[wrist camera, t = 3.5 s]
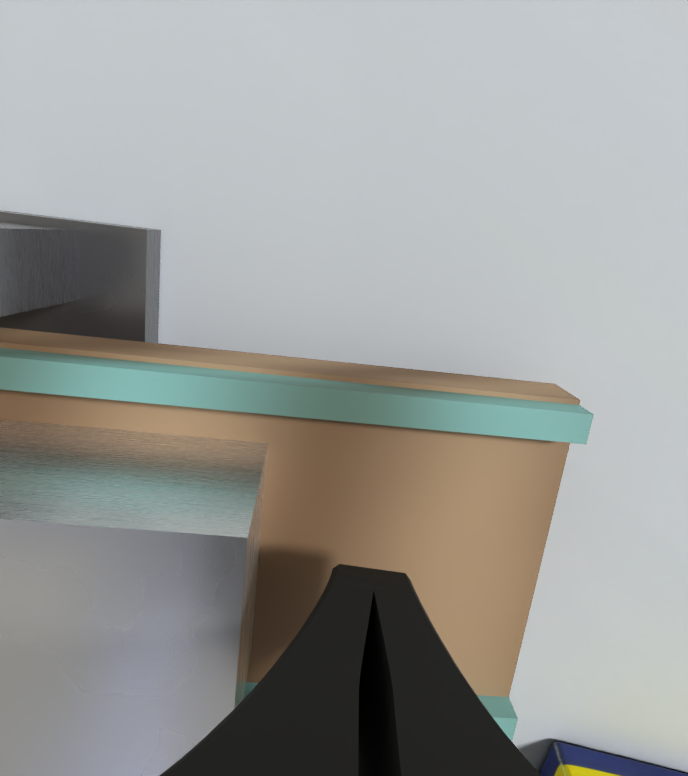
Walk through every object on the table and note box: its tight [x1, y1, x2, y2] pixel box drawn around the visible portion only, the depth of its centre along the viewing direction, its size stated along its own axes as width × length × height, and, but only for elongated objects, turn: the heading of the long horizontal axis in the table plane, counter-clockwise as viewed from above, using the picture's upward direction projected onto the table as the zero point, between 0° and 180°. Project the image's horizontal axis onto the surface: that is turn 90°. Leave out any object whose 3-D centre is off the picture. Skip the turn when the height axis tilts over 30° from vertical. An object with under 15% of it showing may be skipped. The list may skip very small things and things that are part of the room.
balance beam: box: [0, 327, 593, 740], centre depth 12 cm, size 22×8×2 cm, turn 83°
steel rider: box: [0, 419, 268, 776], centre depth 10 cm, size 5×5×4 cm
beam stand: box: [0, 211, 161, 343], centre depth 13 cm, size 5×12×4 cm, turn 173°
